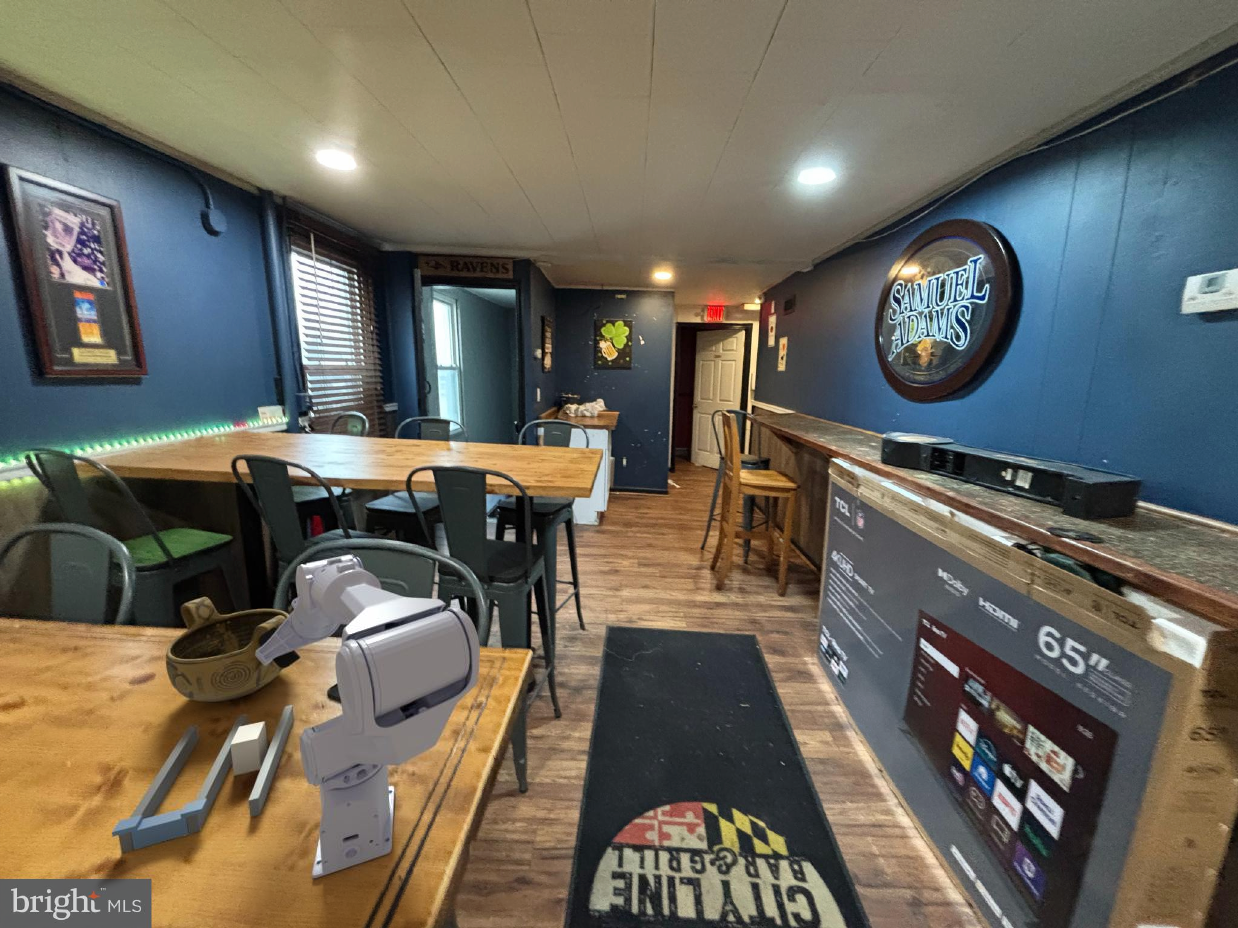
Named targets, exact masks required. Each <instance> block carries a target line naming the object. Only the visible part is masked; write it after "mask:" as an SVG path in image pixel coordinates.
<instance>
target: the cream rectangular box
mask: <svg viewBox="0 0 1238 928" xmlns="http://www.w3.org/2000/svg"><path fill="white" fill-rule="evenodd" d="M267 739H268V737H267V729H266V721H260V722H255V723H250V724H248V725H245V726H240V727H239V728H238V730H237V732H236V734H235V736H234V738H233V740H232V742H231V744H230V745H231V754H232V770H233V776H238V775H243V774H246V773H250V772H255V771H260V770H261V767H262V765H263V762H264V760H265V757H266V755H267V752H268V749H269V748H268V741H267Z"/></svg>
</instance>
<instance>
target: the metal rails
mask: <svg viewBox="0 0 1238 928" xmlns="http://www.w3.org/2000/svg"><path fill="white" fill-rule="evenodd" d="M294 719H295V716H294V705H293V704H291V705H286V706H285V707H284V709H283V712H282V714H281V716H280V718H279V721H278V725H277V727H276V729H275V732H274V734H273V737H272V740H271V742H270V745H269V748H268V752H267V754H266V757H265V759H264V762H263V764H262V767H261V769H259V773H258V775H257V777H256V780H255V783H254V786H253V788H252V791H251V793H250V796H249V798H248V809H249V818H253V817H256V816H261V813H262V810H263V807H264V805H265V802H266V799H267V796H268V793H269V791H270V788H271V785H272V783H273V779H274V776H275V775H276V774H275V773H276V771H277V768H278V765H279V762H280V759H281V757H282V753H283V751H284V748H285V745H286V743H287V740H288V736H289V735H290V731H291V728H292V726H293V722H294ZM245 725H249V723H248V714H242V715H238V717H237V719H236V720H235V723H234V725H232V728H231V730H230V733H228V736H227V738H226V740H225V742H224V743H223V746H222V748H221V750H220V751H219V753H218V755H217V757H216V759H215V760H214V763H213V765H212V767H211V769H210V770H209V773H208V774H207V776H206V778H205V780H204V783H203V784H202V787H200V789H199V792H198V794H197V795H196V798H195V800H194V801H191V802H186V803H185V805H184V807H183V808H181V809H177V810H173V811H169V812H166V813H162V814H158V815H155V814H156V813H157V811H158V810H159V808H160V806H161V804H162V802H163V801H164V799H165V798H166V795H167V794H168V793H169V791H170V789H171V787H172V785H173V784H174V782H175V780H176V779H177V777H178V775H179V774H180V772H181V770H182V769H183V767H184V765H185V764H186V762H187V761H188V759H189V756H190V755H191V753H192V752H193V750H194V749H195V747H196V745H197V743H198V742H199V741H200V733H199V727H198V724H193V725H189V726H188V727H187V728H186V730H185V732H184V733H183V734H182V736H181V738H180V740H179V741H178V742H177V744H176V745H175V747H174V749H173V750H172V751H171V753H170V754H169V756H168V757H167V759H166V761H165V762H164V764H163V765H162V767H161V769H160V770H159V772H158V773H157V775H156V776H155V777H154V780H153V781H152V783H151V784H150V786H149V787H148V789H147V791H146V792H145V793H144V794H143V796H142V798H141V800H140V801H139V803H138V804H137V806H136V807H135V809H134V810H133V812H132V814H131V815H130V817H129V818H124V819H121V820H119V821H118V822H117V824H116V825H115V827H114V828H113V830H112V832H111V835H112V837H116V836H118V840H119V845H120V852H121V854H124V853H128V852H131V851H134V850H139V849H142V848H146V847H149V846H153V845H156V843H157V844H161V843H163V842H162V841H164V842H168V841H170V839H171V840H174V839H173V838H175V839H179V838H182V837H185V836H188V835H192V833H193V834H196V833H199V832H198V831H201V830H200V829H202V827H203V825H204V823H205V820H207V817H208V815H209V812H210V810H211V808H212V806H213V804H214V801H215V799H216V797H217V795H218V794H219V791H220V789H221V787H222V784H223V783H224V781H225V779H226V777H227V774H228V772H229V769H230V768H231V766H232V765H233V762H232V754H231V745H230V744H231V742H232V740H233V738H234V736H235V734H236V732H237V730H238V728H239V727H240V726H245ZM195 832H196V833H195ZM184 835H185V836H184ZM181 836H182V837H181ZM167 840H168V841H167Z"/></svg>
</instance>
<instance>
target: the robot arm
mask: <svg viewBox="0 0 1238 928" xmlns="http://www.w3.org/2000/svg"><path fill="white" fill-rule="evenodd" d="M295 572H296V575H295V587H296V593H297V597H296V598H294V599H293V600H292V602H291V604H290V605H291V608H293V610H292V612H291V613H290V614H289V616H288V618H287V619H286V620H285V621H284V622H283V624H282V625H281V626H280V627H279V628H278V630H277V629H276V628H275V627H273V628H271V629H270V630H268V631H267V632H265V633H264V634H262V635H261V636H260V637H259V640H258V644H259V646H260V648H259V649H258V650H256V653H255V656H256V657H257V658H258V659H259V660H260V661H261V663H262V664H263V665H264V666H266V665H267V664H269V663H270V662H271V661H272V660H273V661H274V662H275V663H276V664H277V666H278V667H280V668H282V669H283V670H284V669H287V668H289V667H290V666H292V665H293V664H294V663H296V662H297V661H299V660H300V659H301V656H300V655H299V654H298V652H297V651H296V650H298V649H300V648H301V649H302V648H303V647H307V646H309V645H312V644H315V643H317V642H320V641H323V640H326V639H327V638H329V637H331V636H332V635H333V634H334V633H335V632H336V631H337V630H338V628H339V627H340V625H346V626H345V627H344V628H343V630H342V634H341V646H340V648H339V649H338V651H337V652H336V655H335V664H334V665H335V677H336V678H335V679H336V684H337V685H338V690H339V694H340V698H341V702H340V704H341V710H342V711H341V712H342V714H340V715H337V716H335V717H333V718H330V719H328V720H326V721H323V722H320V723H319V724H315V725H314V726H312V727H311V726H307V727H305V728H304V729H303V730H302V731H303V732H302V733H301V735H300V736H299V751H300V757H301V762H302V768H303V771H304V776H305V779H306V781H307V783H308V784H309V785H312V786H314V787H318V786H319V791H320V792H319V793H320V804H321V819H320V822H319V829H318V832H319V837H318V843H317V848H316V853H315V856H314V862H313V867H312V872H311V876H312V878H314V879H318V878H320V877H323V876H326V875H329V874H331V873H334V872H338V871H341V870H344V869H347V868H349V867H353V866H356V865H358V864H362V863H364V862H367V861H370V860H373V859H376V858H379V857H382V856H385V855H388V854H389V853H390V852H391V851H392V847H393V828H394V827H393V826H394V811H395V810H394V809H395V786H394V785H389V768H388V767H389V766H401V765H403V764H404V763H406V762H408V761H411V760H412V759H413V758H416V757H418V756H420V755H422V754H423V753H425V752H427V751H430V750H431V749H433V748H434V747H435V746H437V743H438V742H439V739H440V738H441V735H442V734H443V732H444V730H445V728H446V726H447V724H448V722H449V720H450V717H451V716H452V713H453V712H454V710H455V708H456V706H457V704H458V703H459V702H460V701H461V700H462V699H463V698H464V697H465V696H466V695H467V694H469V693H470V691H472V690H473V689H474V688H475V687H476V686H477V685H479V673H480V657H481V648H480V647H481V646H480V640H479V636H478V633H477V630H476V627H475V624H474V623H473V620H472V618H471V617H470V616H469V615H468V614H467V613H466V612H465V611H463V610H462V609H461V608H459V607H458V606H449V607H447V608H446V609H444V607H445V606H446V605H447V604H446V603H445V602H444V601H443V600H442V599H439V598H427V597H425V598H424V597H408V596H402V595H400V594H396V593H393V592H390V591H388V590H384V589H382V584H381V583H380V580H379V579H378V578H377V576H375V575H374V574H373V573H371V572H369V571H367V570H365V568H364V565H363V563H362V560H361V559H360V558H359V557H358V556H356V557H355V555H354V554H345V555H341V556H340V555H339V556H337V557H330V558H326V559H322V560H316V561H311V562H307V563H305V564H300V565H298V566H297V567H296V571H295ZM443 609H444V611H442V610H443Z"/></svg>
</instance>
